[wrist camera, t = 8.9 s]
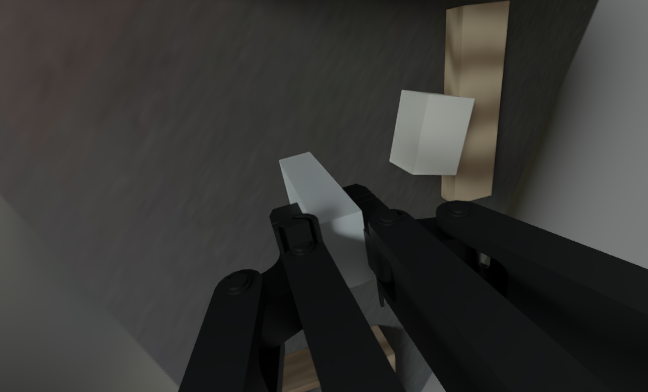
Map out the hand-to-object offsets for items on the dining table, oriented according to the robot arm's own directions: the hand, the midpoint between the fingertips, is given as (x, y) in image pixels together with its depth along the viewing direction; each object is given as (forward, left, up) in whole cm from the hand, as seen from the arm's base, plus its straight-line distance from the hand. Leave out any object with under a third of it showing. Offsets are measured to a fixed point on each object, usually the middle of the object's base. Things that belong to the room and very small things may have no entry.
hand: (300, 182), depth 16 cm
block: (+5, +20, -23) cm, 31 cm away
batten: (+4, +27, -23) cm, 36 cm away
